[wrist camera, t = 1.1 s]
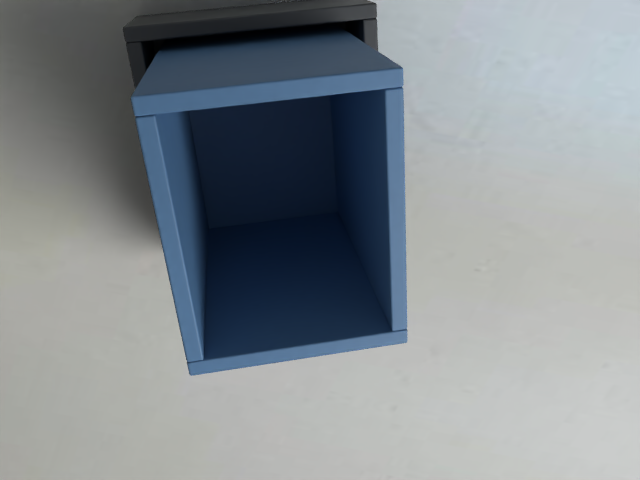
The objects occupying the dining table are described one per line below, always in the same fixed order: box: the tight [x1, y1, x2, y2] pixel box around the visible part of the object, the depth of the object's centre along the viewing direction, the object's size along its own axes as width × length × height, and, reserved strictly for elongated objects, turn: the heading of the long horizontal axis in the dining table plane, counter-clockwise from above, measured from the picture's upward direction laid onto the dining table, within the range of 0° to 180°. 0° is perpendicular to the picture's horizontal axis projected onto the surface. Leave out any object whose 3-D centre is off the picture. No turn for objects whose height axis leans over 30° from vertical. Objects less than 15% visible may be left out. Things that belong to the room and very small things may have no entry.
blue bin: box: [131, 23, 407, 376], centre depth 25 cm, size 10×8×12 cm
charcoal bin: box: [123, 0, 378, 89], centre depth 29 cm, size 12×10×4 cm
